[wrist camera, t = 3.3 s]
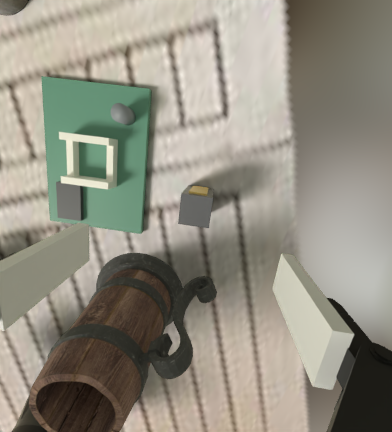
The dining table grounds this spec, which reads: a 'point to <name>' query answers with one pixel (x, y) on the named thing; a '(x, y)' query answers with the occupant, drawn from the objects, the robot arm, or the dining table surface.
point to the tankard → (116, 346)
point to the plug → (196, 206)
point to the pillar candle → (11, 6)
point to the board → (96, 152)
